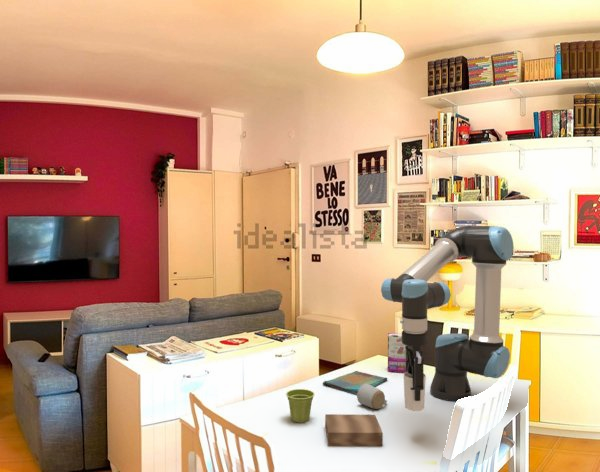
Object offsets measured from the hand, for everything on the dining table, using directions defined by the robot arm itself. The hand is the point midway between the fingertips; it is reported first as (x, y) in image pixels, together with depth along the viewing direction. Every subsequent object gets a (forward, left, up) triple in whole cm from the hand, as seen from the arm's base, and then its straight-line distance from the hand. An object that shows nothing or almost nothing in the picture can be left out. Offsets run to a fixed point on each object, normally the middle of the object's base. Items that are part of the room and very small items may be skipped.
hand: (413, 406), depth 157 cm
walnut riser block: (+18, -2, -10) cm, 21 cm away
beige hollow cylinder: (0, 0, -1) cm, 1 cm away
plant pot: (+34, -15, -10) cm, 39 cm away
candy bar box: (-11, -70, -10) cm, 71 cm away
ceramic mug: (+8, -28, -10) cm, 31 cm away
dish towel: (+11, -53, -11) cm, 55 cm away
